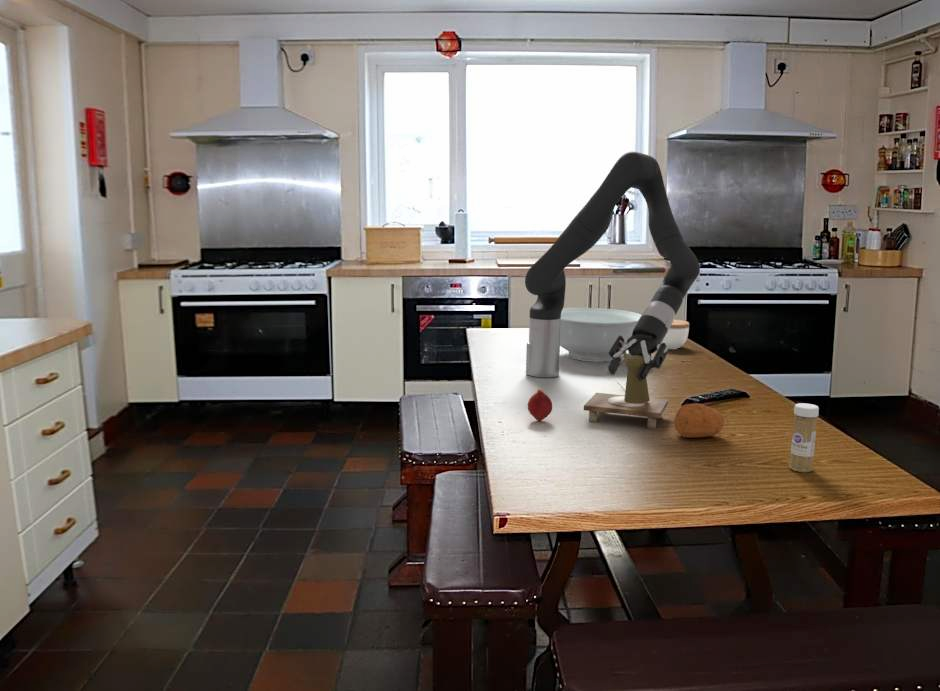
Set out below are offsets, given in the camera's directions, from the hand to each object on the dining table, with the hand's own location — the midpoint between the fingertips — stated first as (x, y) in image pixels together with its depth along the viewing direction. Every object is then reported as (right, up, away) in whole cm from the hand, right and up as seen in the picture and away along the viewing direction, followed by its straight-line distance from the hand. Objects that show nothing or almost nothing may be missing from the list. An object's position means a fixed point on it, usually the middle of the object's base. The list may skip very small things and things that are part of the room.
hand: (624, 375), depth 209 cm
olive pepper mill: (+3, -6, +2) cm, 7 cm away
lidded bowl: (+33, +6, +97) cm, 103 cm away
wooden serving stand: (+1, -11, +3) cm, 11 cm away
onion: (-20, -11, 0) cm, 23 cm away
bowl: (+3, +3, +78) cm, 78 cm away
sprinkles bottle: (+30, -18, -33) cm, 48 cm away
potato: (+15, -14, -10) cm, 23 cm away
